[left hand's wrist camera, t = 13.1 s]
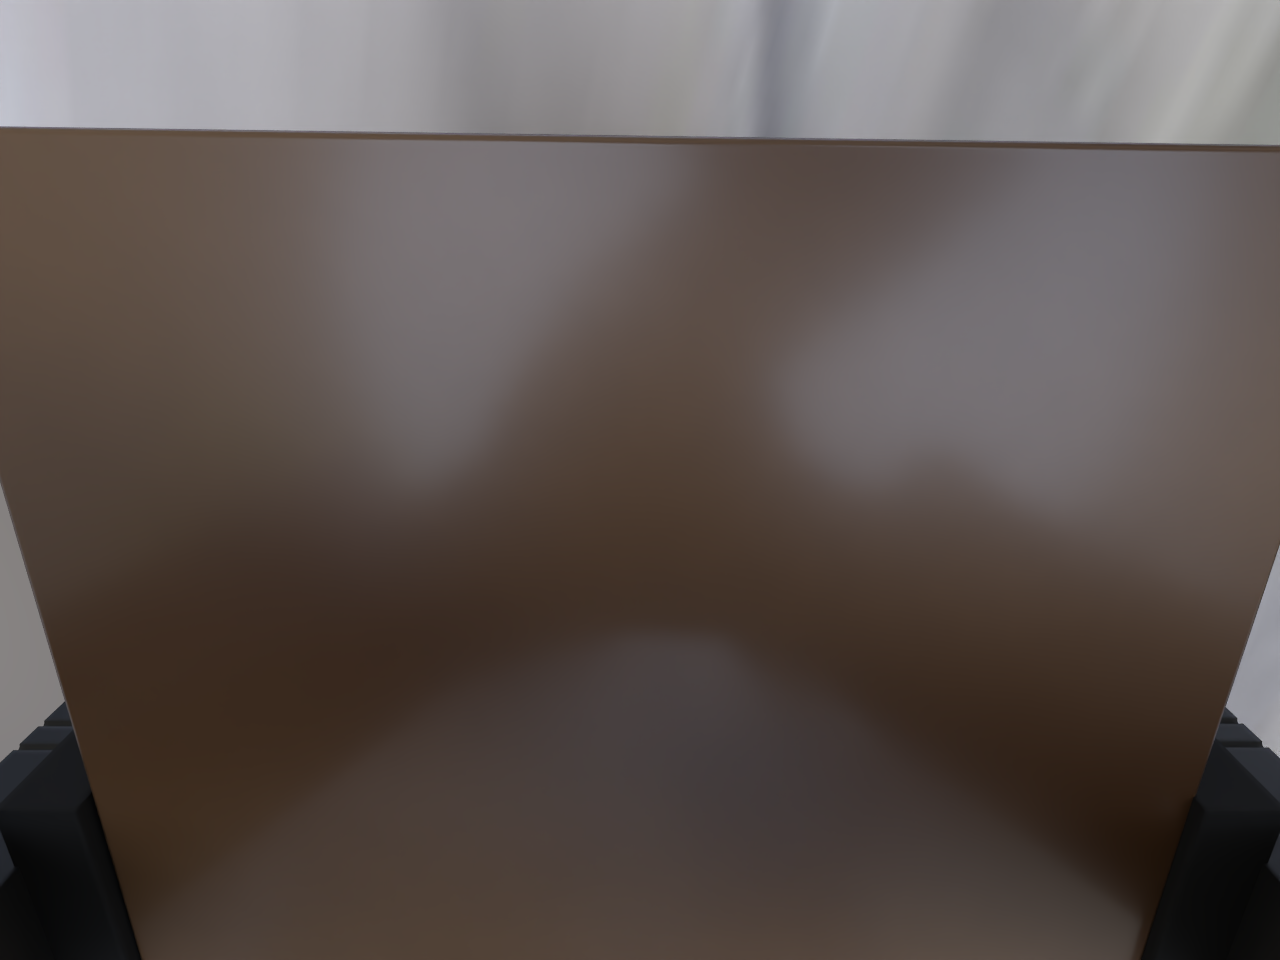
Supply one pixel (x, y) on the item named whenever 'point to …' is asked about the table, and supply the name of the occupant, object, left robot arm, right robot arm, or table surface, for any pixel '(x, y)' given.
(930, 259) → the thick board
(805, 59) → the table surface
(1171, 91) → the table surface
